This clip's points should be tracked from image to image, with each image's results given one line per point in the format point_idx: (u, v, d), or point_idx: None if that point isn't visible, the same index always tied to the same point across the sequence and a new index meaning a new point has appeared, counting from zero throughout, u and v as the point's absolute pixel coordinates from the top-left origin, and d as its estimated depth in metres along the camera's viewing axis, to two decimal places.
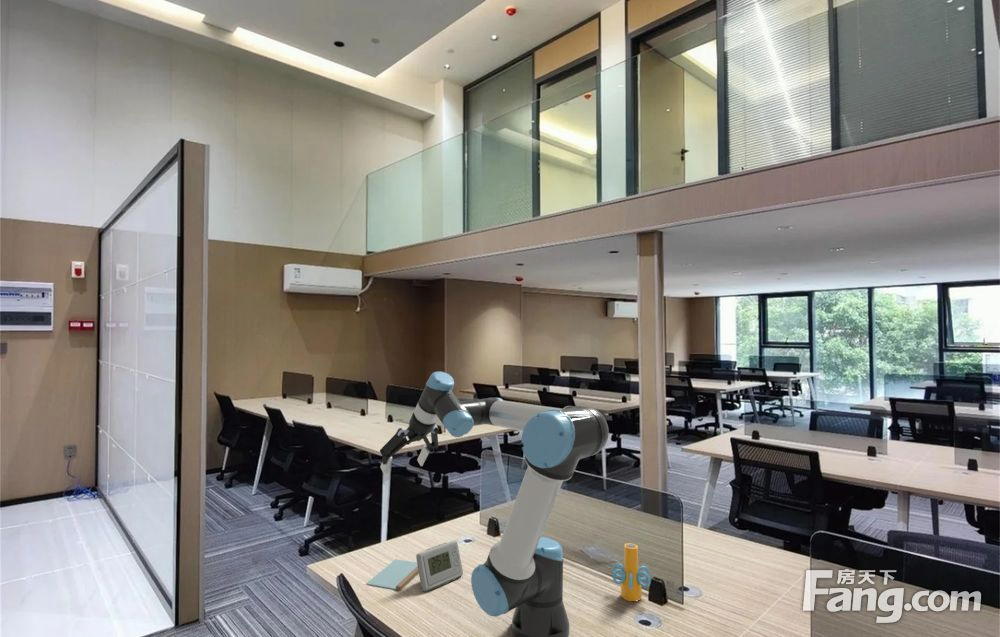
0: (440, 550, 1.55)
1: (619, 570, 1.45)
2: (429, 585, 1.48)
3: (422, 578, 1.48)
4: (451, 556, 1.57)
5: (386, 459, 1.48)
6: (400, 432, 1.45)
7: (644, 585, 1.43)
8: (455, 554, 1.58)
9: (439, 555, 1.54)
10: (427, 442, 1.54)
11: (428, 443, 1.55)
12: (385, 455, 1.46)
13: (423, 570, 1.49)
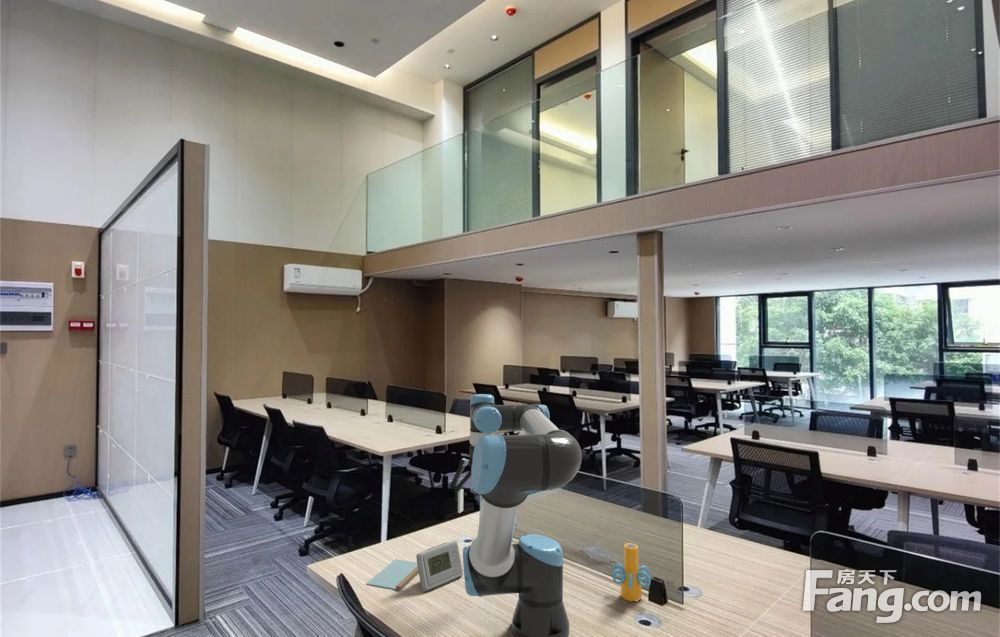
0: (440, 550, 1.55)
1: (619, 570, 1.45)
2: (429, 585, 1.48)
3: (422, 578, 1.48)
4: (451, 556, 1.57)
5: (456, 493, 1.53)
6: None
7: (644, 585, 1.43)
8: (455, 554, 1.58)
9: (439, 555, 1.54)
10: None
11: None
12: (451, 485, 1.53)
13: (423, 570, 1.49)
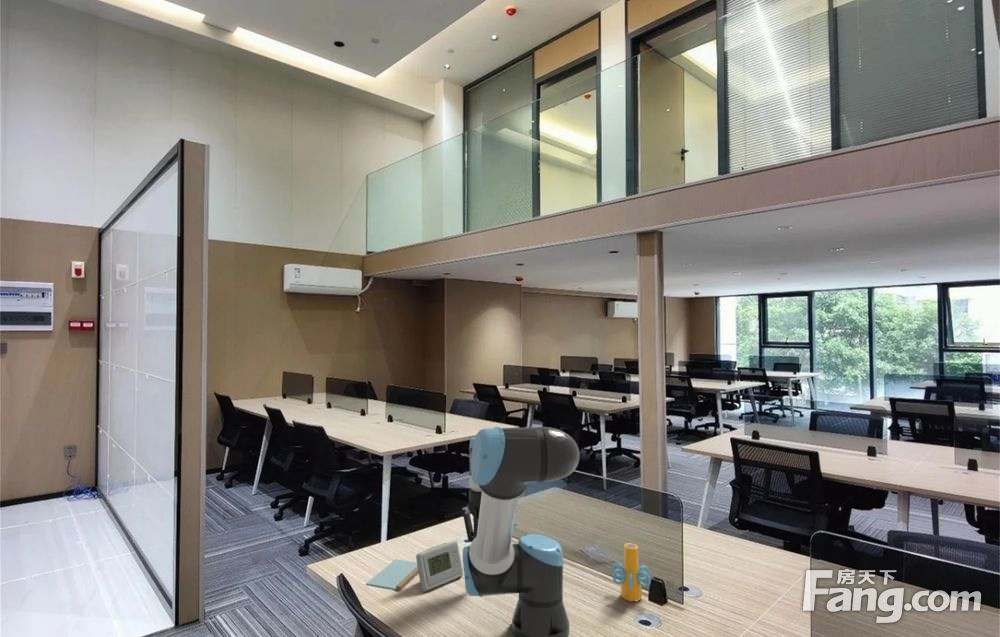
0: (440, 550, 1.55)
1: (619, 570, 1.45)
2: (429, 585, 1.48)
3: (422, 578, 1.48)
4: (451, 556, 1.57)
5: None
6: None
7: (644, 585, 1.43)
8: (455, 554, 1.58)
9: (439, 555, 1.54)
10: None
11: None
12: (469, 538, 1.51)
13: (423, 570, 1.49)
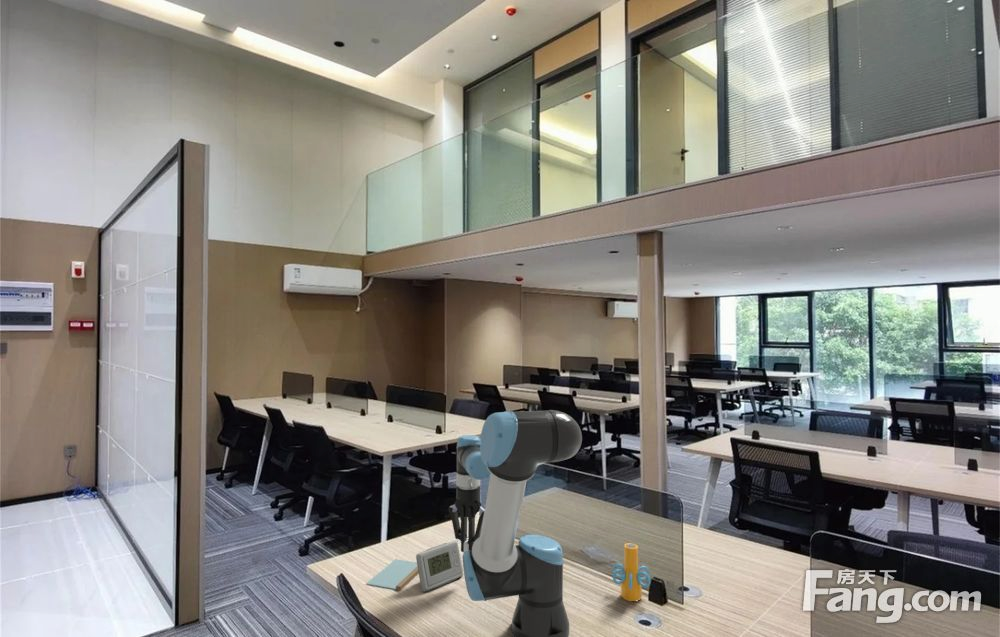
0: (440, 550, 1.55)
1: (619, 570, 1.45)
2: (429, 585, 1.48)
3: (422, 578, 1.48)
4: (451, 556, 1.57)
5: (462, 544, 1.52)
6: None
7: (644, 585, 1.43)
8: (455, 554, 1.58)
9: (439, 555, 1.54)
10: (470, 525, 1.51)
11: (470, 528, 1.51)
12: (456, 536, 1.52)
13: (423, 570, 1.49)
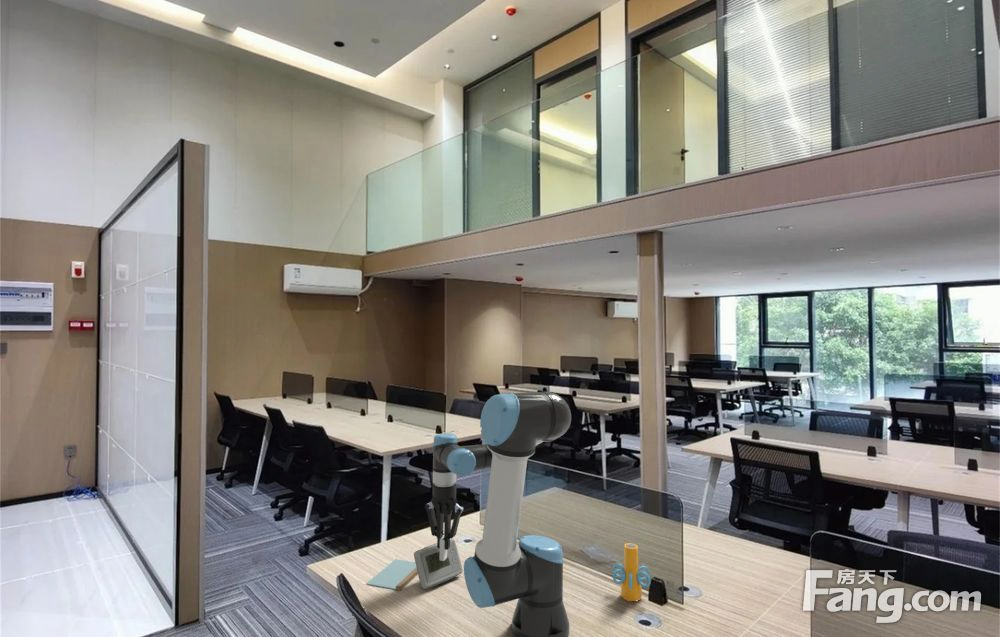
0: (438, 548, 1.56)
1: (619, 570, 1.45)
2: (428, 582, 1.48)
3: (421, 575, 1.48)
4: (449, 553, 1.57)
5: (438, 541, 1.55)
6: None
7: (644, 585, 1.43)
8: (453, 552, 1.59)
9: (437, 553, 1.55)
10: (446, 522, 1.54)
11: (446, 525, 1.53)
12: (432, 532, 1.55)
13: (421, 567, 1.49)
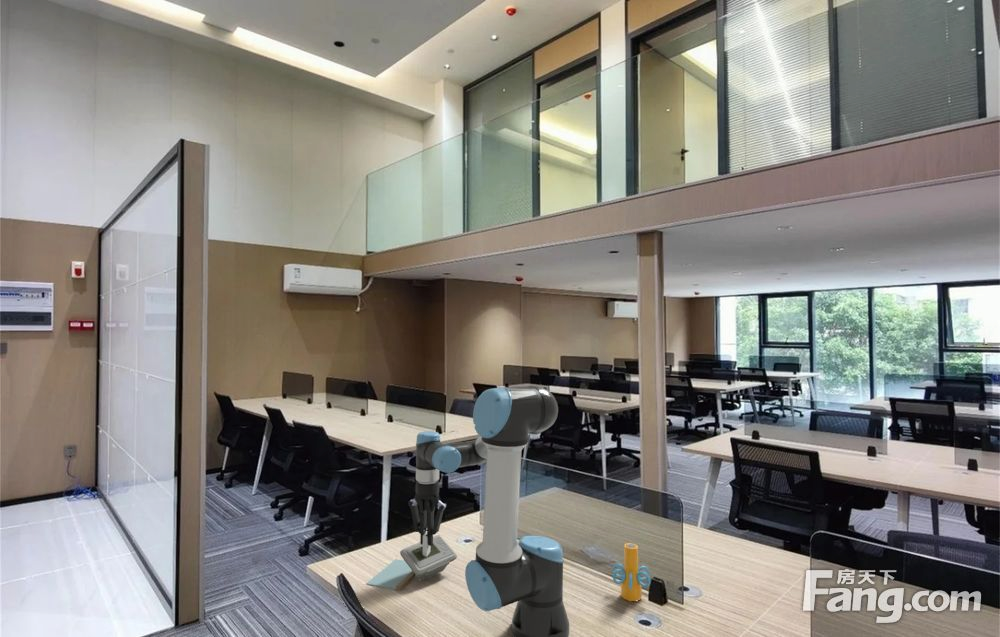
0: None
1: (619, 570, 1.45)
2: (420, 567, 1.51)
3: (411, 565, 1.51)
4: (437, 544, 1.61)
5: (421, 537, 1.57)
6: None
7: (644, 585, 1.43)
8: (441, 542, 1.62)
9: None
10: (428, 518, 1.56)
11: (429, 521, 1.56)
12: (416, 529, 1.57)
13: (410, 558, 1.53)
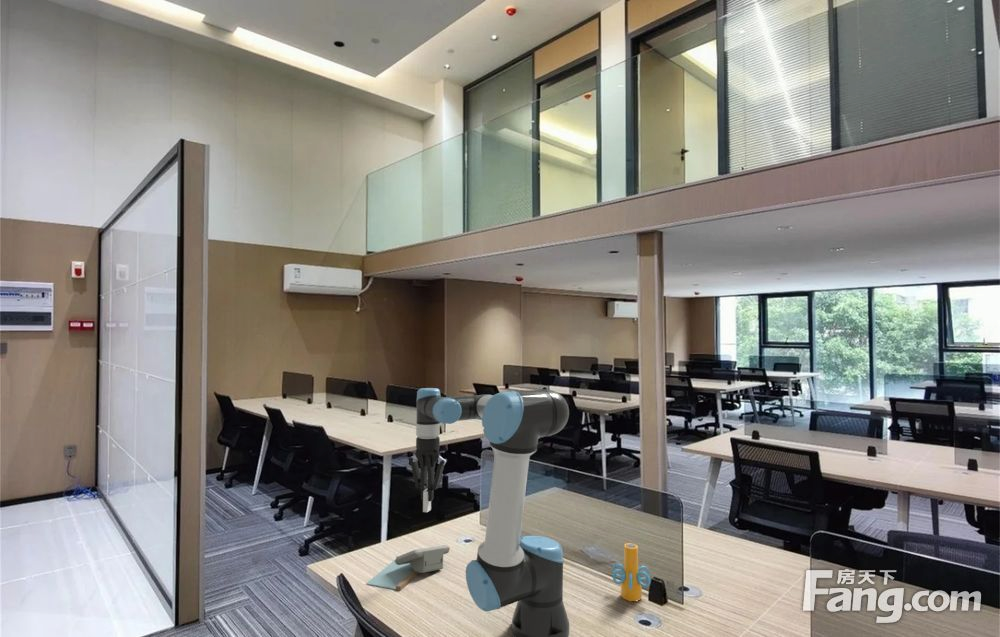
0: None
1: (619, 570, 1.45)
2: None
3: (407, 554, 1.57)
4: None
5: (422, 493, 1.57)
6: None
7: (644, 585, 1.43)
8: None
9: None
10: (429, 474, 1.56)
11: (429, 476, 1.56)
12: (416, 485, 1.57)
13: None
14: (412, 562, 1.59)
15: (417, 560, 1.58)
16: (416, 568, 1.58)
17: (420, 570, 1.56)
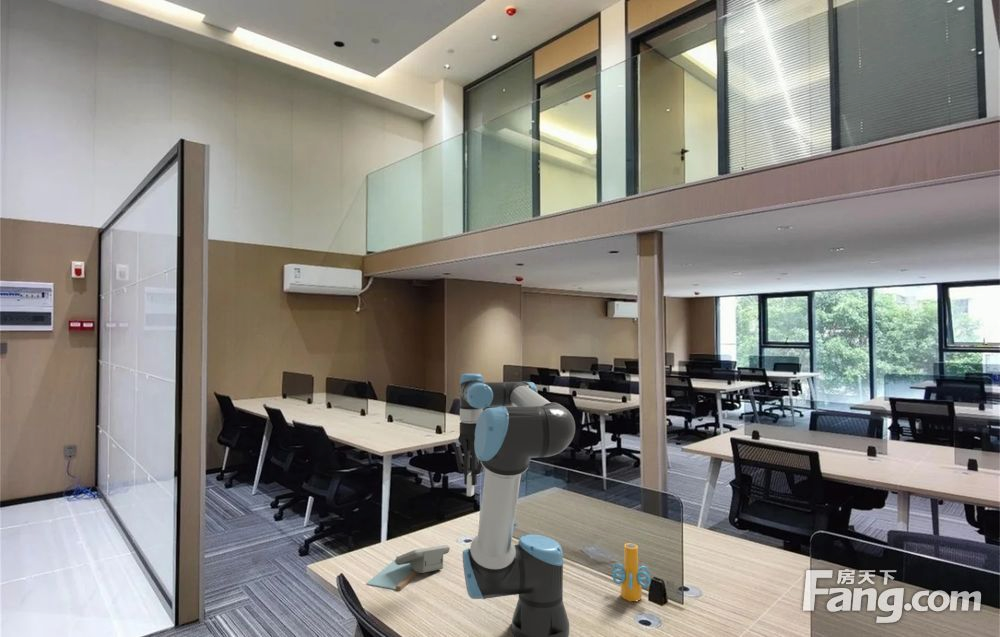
0: None
1: (619, 570, 1.45)
2: None
3: (407, 554, 1.57)
4: None
5: (465, 477, 1.58)
6: None
7: (644, 585, 1.43)
8: None
9: None
10: (473, 458, 1.57)
11: (473, 461, 1.57)
12: (459, 469, 1.58)
13: None
14: (412, 562, 1.59)
15: (417, 560, 1.58)
16: (416, 568, 1.58)
17: (420, 570, 1.56)
